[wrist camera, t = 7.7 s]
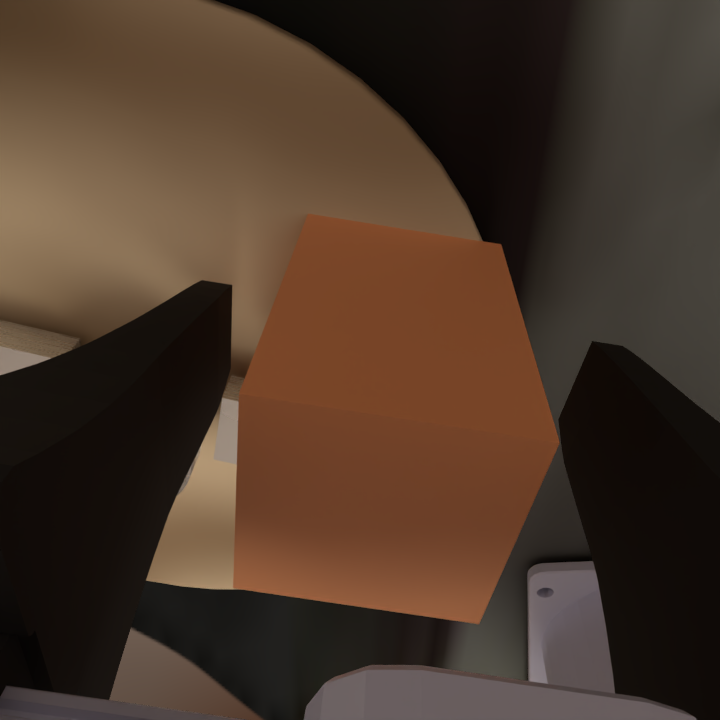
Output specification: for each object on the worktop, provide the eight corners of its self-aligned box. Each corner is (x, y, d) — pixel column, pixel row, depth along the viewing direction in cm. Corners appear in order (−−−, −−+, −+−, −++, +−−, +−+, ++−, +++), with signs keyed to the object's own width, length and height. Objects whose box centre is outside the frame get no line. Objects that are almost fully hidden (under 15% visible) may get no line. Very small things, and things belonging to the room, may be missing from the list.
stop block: (500, 244, 12) (559, 442, 7) (456, 395, 15) (478, 624, 10) (308, 213, 12) (238, 393, 7) (293, 370, 15) (233, 588, 10)
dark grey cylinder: (448, 405, 14) (459, 536, 11) (410, 494, 16) (410, 629, 13) (-175, 256, 13) (-361, 355, 10) (-142, 369, 15) (-290, 484, 12)
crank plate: (509, 558, 19) (521, 628, 17) (25, 577, 22) (-13, 641, 20) (488, -112, 10) (506, -124, 8) (-361, 60, 12) (-508, 82, 10)
